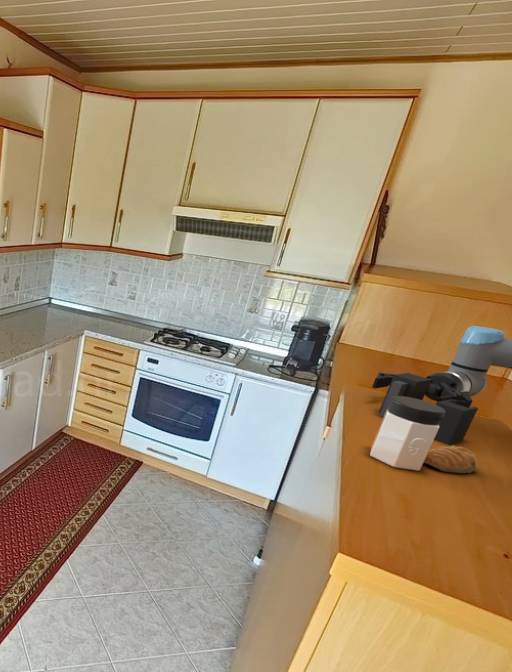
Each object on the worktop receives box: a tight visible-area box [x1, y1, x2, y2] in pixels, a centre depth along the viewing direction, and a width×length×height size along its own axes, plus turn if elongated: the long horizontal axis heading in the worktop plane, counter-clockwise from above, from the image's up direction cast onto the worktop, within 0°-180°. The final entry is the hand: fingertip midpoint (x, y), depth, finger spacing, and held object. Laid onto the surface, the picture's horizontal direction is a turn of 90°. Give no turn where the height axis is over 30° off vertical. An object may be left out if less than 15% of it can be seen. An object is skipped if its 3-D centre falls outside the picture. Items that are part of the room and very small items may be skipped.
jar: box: [369, 396, 445, 472], centre depth 94 cm, size 9×8×12 cm
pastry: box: [423, 445, 479, 474], centre depth 95 cm, size 9×7×4 cm
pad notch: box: [434, 399, 479, 445], centre depth 109 cm, size 7×5×8 cm
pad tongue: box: [378, 372, 431, 418], centre depth 120 cm, size 10×5×10 cm, turn 117°
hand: (405, 392), depth 120 cm, fingers open, 13 cm apart
